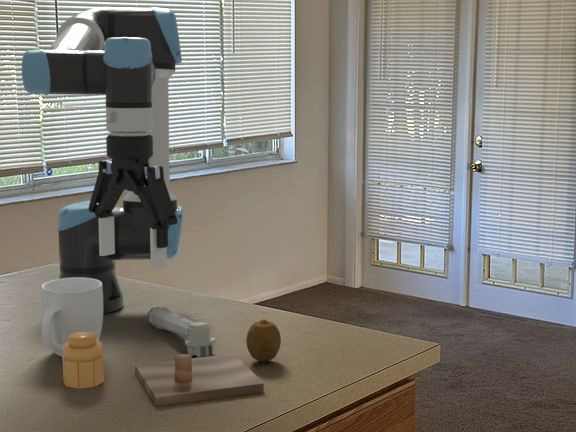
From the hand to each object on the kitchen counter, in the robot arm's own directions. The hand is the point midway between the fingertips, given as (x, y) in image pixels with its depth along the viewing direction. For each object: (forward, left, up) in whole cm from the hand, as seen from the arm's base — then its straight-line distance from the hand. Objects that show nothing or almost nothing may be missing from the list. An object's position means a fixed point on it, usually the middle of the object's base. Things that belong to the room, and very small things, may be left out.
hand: (132, 260), depth 149 cm
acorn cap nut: (-1, -8, -21) cm, 22 cm away
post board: (+6, +10, -21) cm, 23 cm away
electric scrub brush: (-18, +13, -21) cm, 30 cm away
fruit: (0, +24, -21) cm, 32 cm away
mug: (-16, -8, -21) cm, 28 cm away
